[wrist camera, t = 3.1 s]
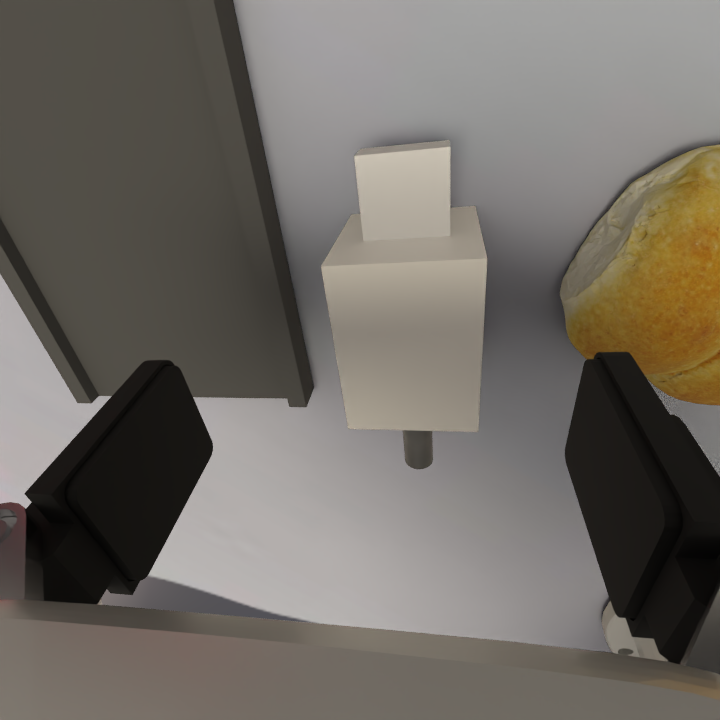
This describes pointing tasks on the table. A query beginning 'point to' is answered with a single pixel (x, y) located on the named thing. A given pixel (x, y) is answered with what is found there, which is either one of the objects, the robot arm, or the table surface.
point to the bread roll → (656, 278)
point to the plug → (408, 300)
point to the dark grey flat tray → (143, 199)
